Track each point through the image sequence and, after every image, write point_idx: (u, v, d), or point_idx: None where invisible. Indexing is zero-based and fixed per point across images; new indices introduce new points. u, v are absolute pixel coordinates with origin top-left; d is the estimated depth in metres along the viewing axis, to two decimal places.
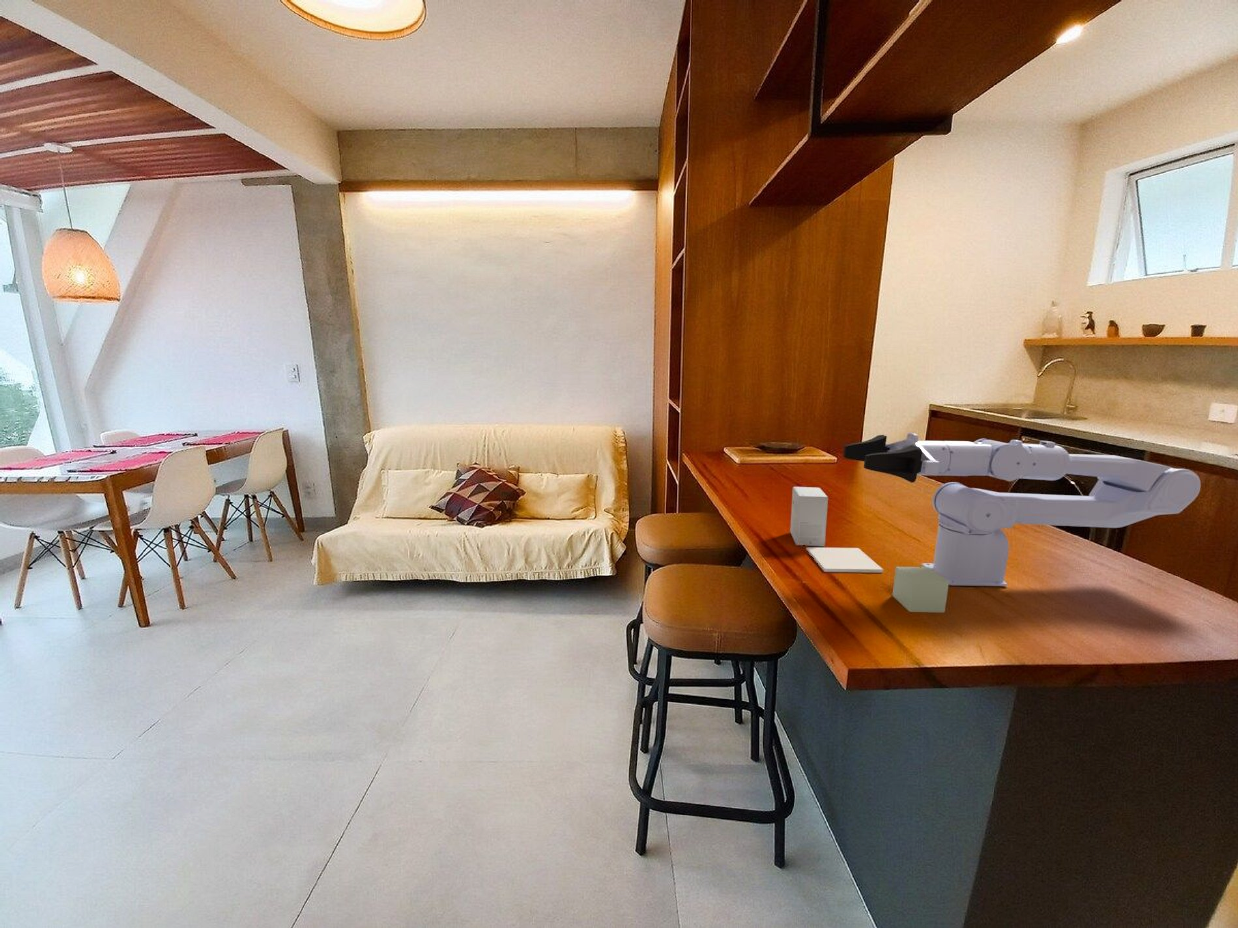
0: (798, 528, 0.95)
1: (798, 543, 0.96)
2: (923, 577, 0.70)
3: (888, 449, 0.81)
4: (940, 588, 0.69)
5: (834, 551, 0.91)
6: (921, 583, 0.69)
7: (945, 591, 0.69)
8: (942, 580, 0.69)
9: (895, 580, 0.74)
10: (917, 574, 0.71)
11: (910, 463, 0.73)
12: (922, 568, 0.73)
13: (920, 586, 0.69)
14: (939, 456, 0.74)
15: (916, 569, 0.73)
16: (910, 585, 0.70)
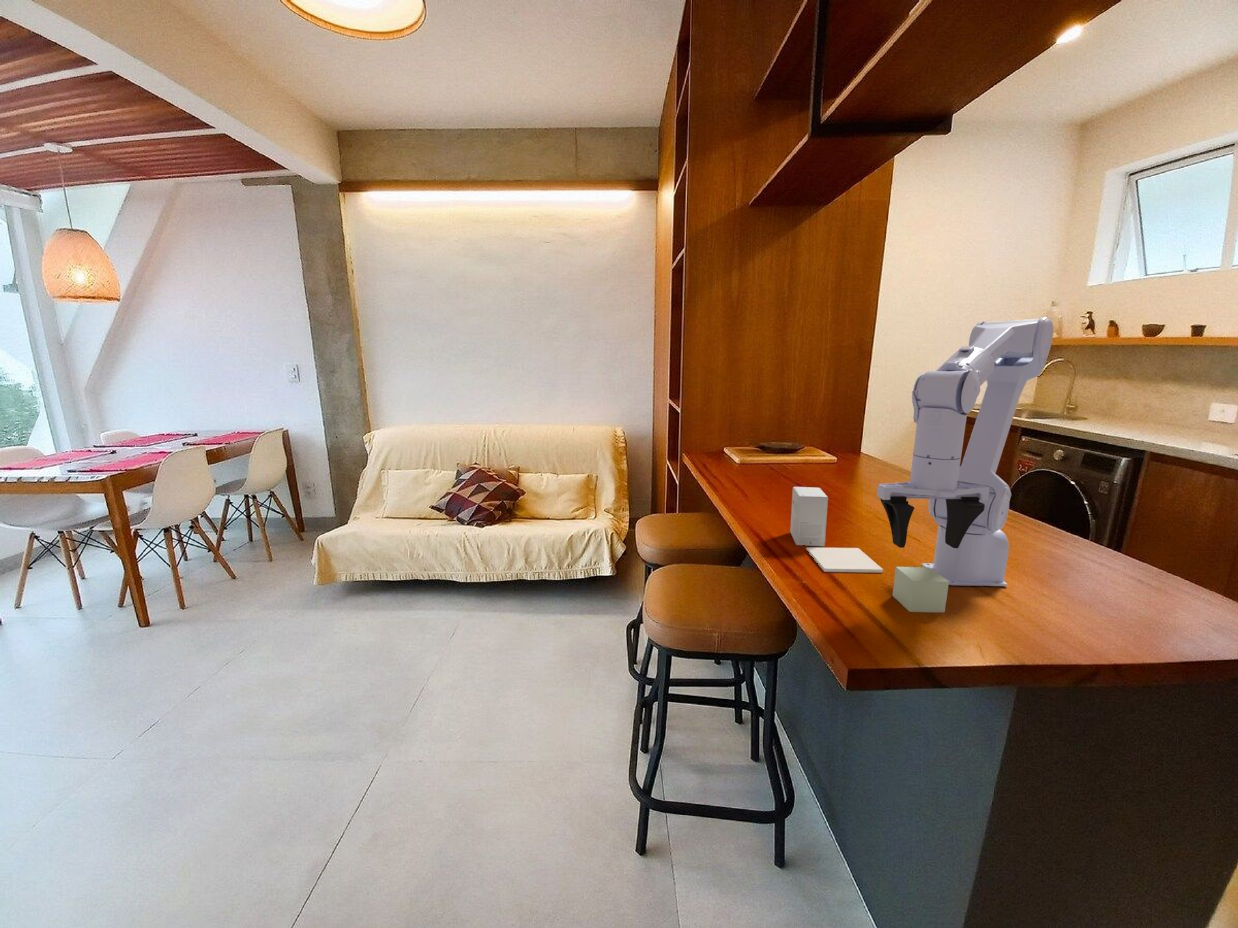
0: (798, 528, 0.95)
1: (798, 543, 0.96)
2: (923, 577, 0.70)
3: (905, 498, 0.68)
4: (940, 589, 0.69)
5: (834, 551, 0.91)
6: (921, 583, 0.69)
7: (945, 591, 0.69)
8: (942, 580, 0.69)
9: (895, 580, 0.74)
10: (917, 574, 0.71)
11: None
12: (922, 568, 0.73)
13: (920, 586, 0.69)
14: None
15: (916, 569, 0.73)
16: (910, 585, 0.70)
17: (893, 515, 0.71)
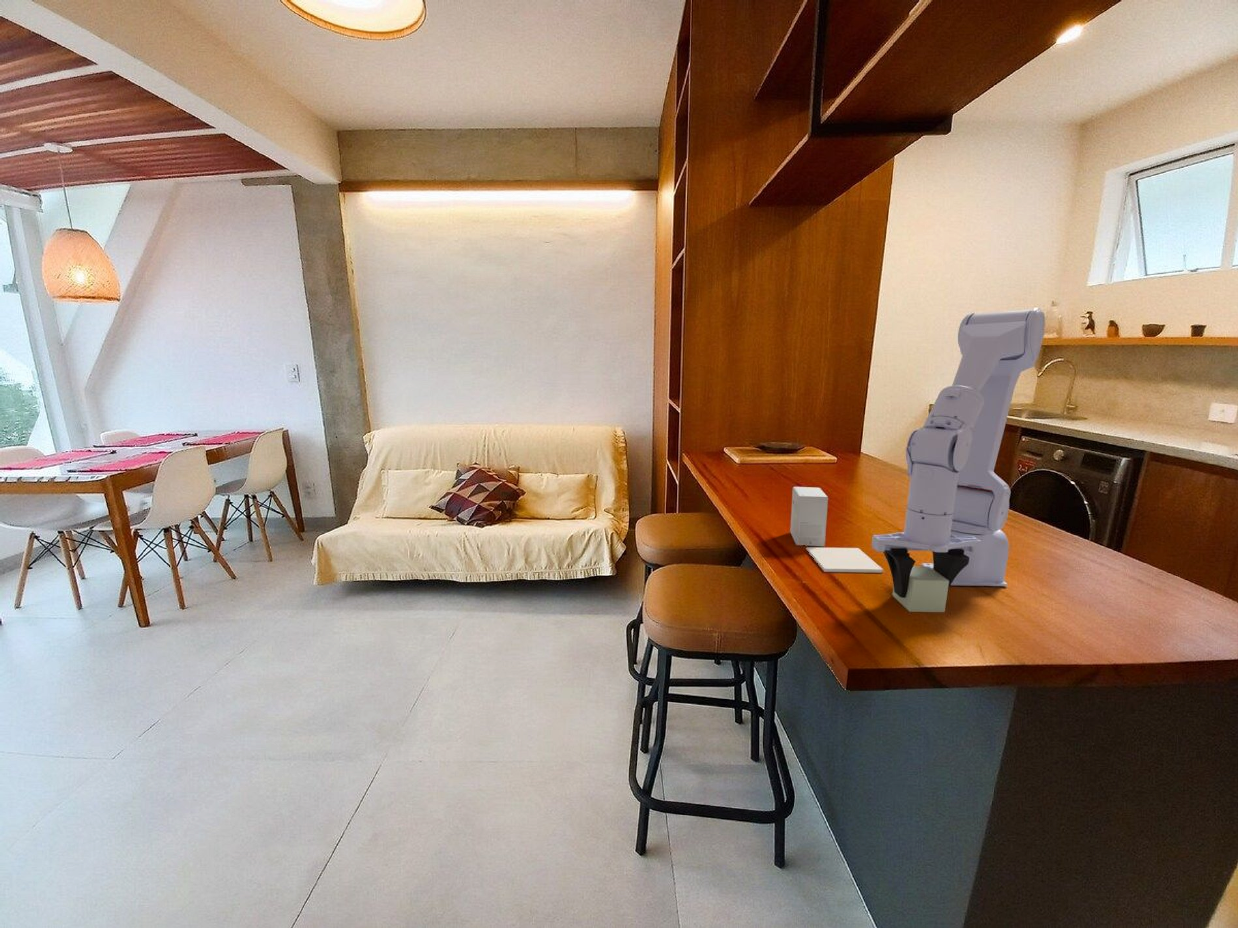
0: (798, 528, 0.95)
1: (798, 543, 0.96)
2: (923, 576, 0.70)
3: (906, 550, 0.70)
4: (941, 588, 0.69)
5: (834, 551, 0.91)
6: (922, 582, 0.69)
7: (945, 590, 0.69)
8: (942, 579, 0.69)
9: None
10: (917, 573, 0.71)
11: None
12: (922, 568, 0.73)
13: (920, 585, 0.69)
14: None
15: (916, 569, 0.73)
16: (910, 584, 0.69)
17: (894, 565, 0.72)
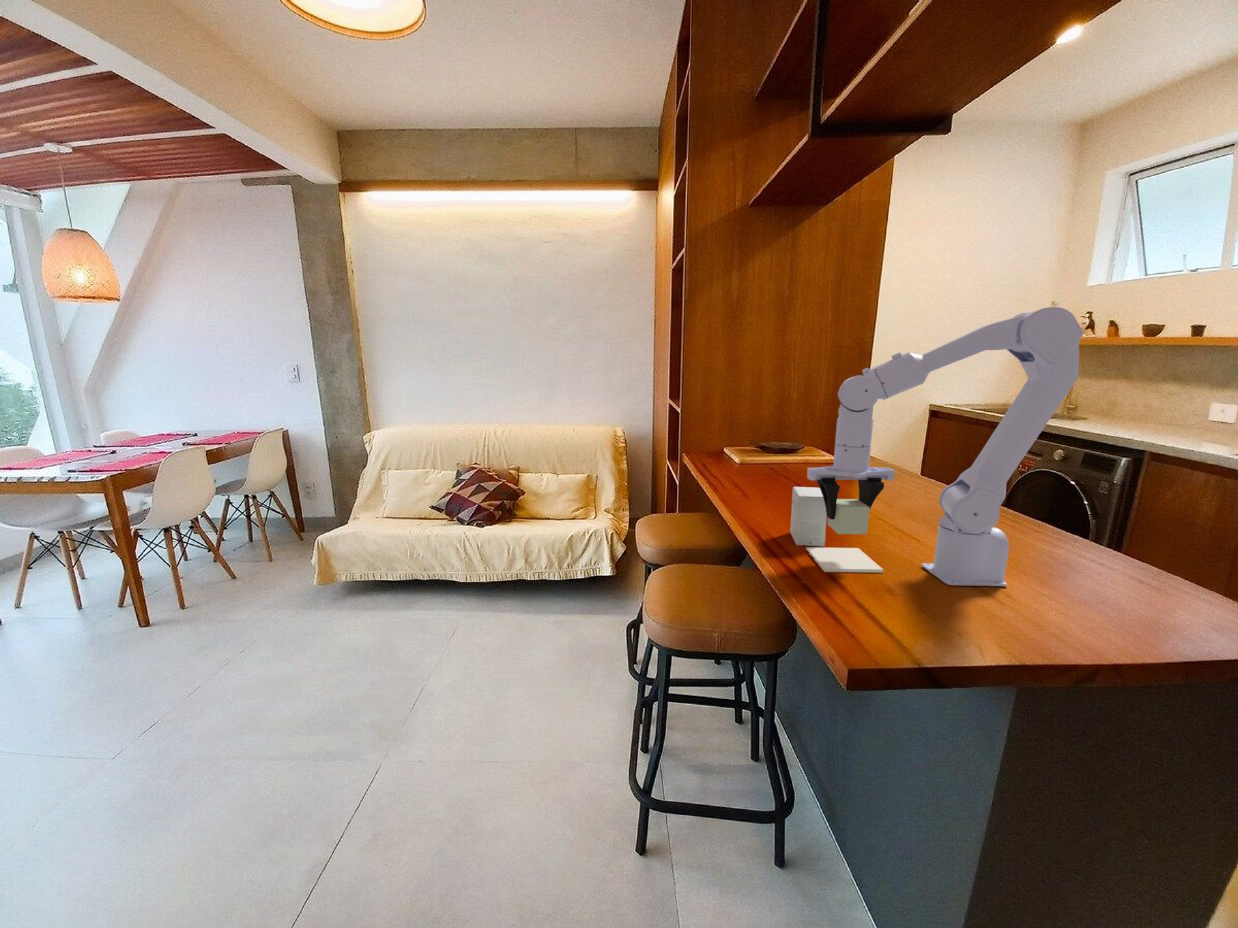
0: (798, 528, 0.95)
1: (798, 543, 0.96)
2: (850, 504, 0.84)
3: (834, 479, 0.85)
4: (863, 513, 0.83)
5: (834, 551, 0.91)
6: (847, 509, 0.83)
7: (867, 515, 0.83)
8: (864, 506, 0.83)
9: None
10: (846, 503, 0.85)
11: None
12: (851, 500, 0.87)
13: (846, 511, 0.83)
14: None
15: (845, 500, 0.86)
16: (838, 511, 0.83)
17: (826, 493, 0.87)
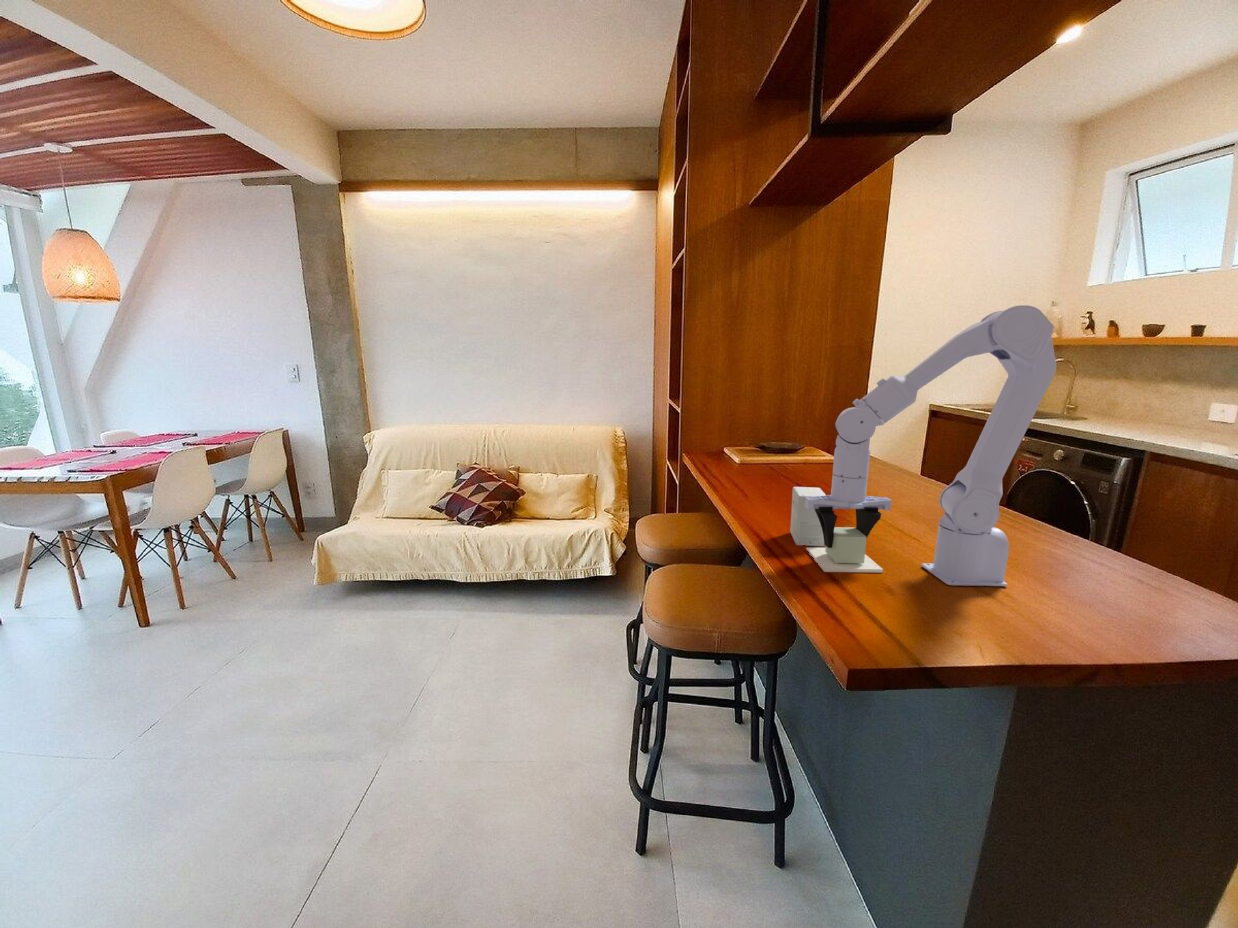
0: (798, 528, 0.95)
1: (798, 543, 0.96)
2: (847, 534, 0.85)
3: (831, 508, 0.86)
4: (860, 543, 0.84)
5: None
6: (844, 538, 0.84)
7: (864, 545, 0.84)
8: (861, 536, 0.84)
9: None
10: (843, 532, 0.86)
11: None
12: (848, 528, 0.88)
13: (843, 541, 0.84)
14: None
15: (843, 529, 0.88)
16: (836, 540, 0.85)
17: (824, 522, 0.88)
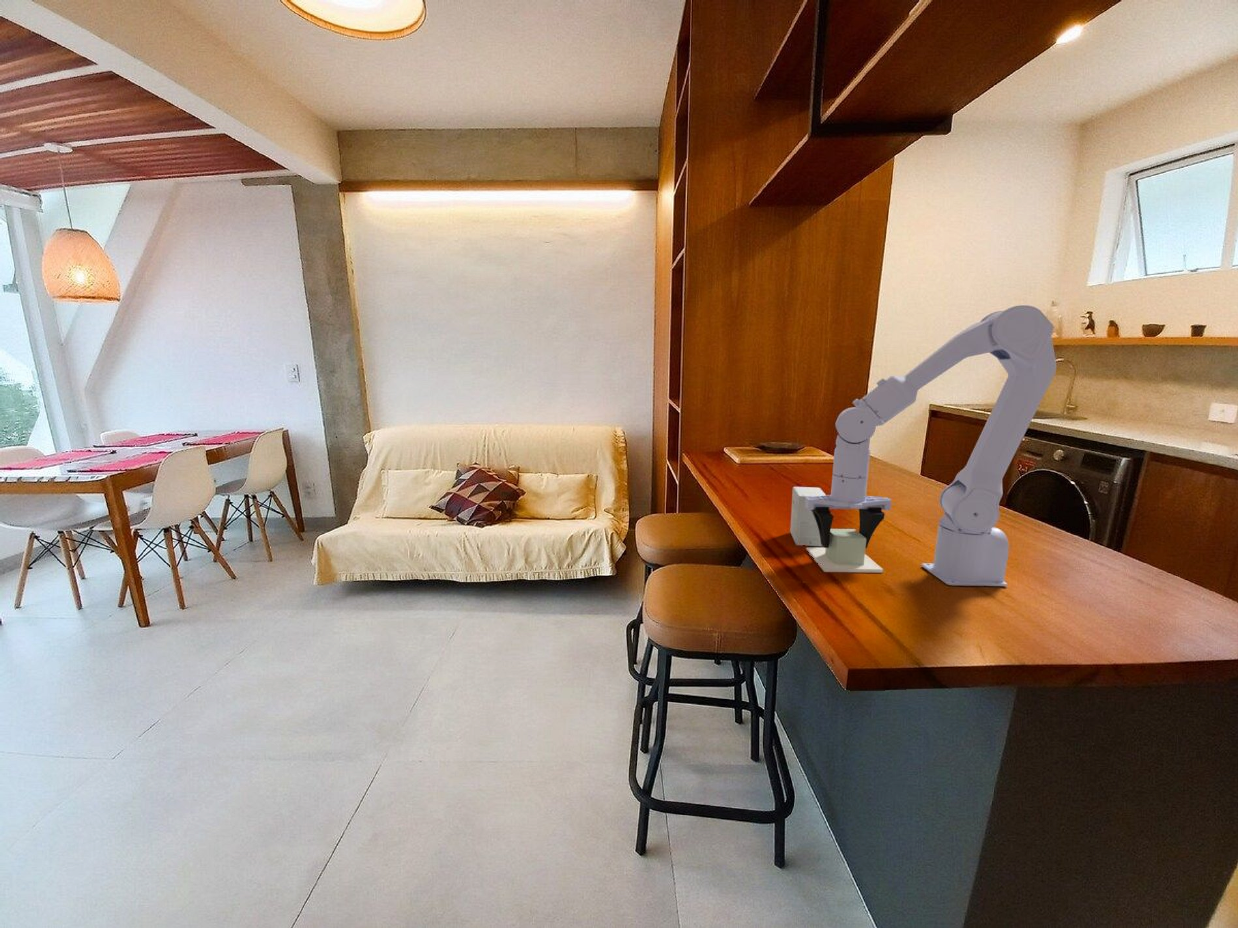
0: (798, 528, 0.95)
1: (798, 543, 0.96)
2: (847, 535, 0.85)
3: (828, 508, 0.86)
4: (860, 544, 0.84)
5: None
6: (844, 540, 0.84)
7: (864, 546, 0.84)
8: (861, 537, 0.84)
9: None
10: (843, 533, 0.86)
11: None
12: (848, 530, 0.88)
13: (843, 542, 0.84)
14: None
15: (842, 530, 0.88)
16: (836, 542, 0.85)
17: (820, 522, 0.88)
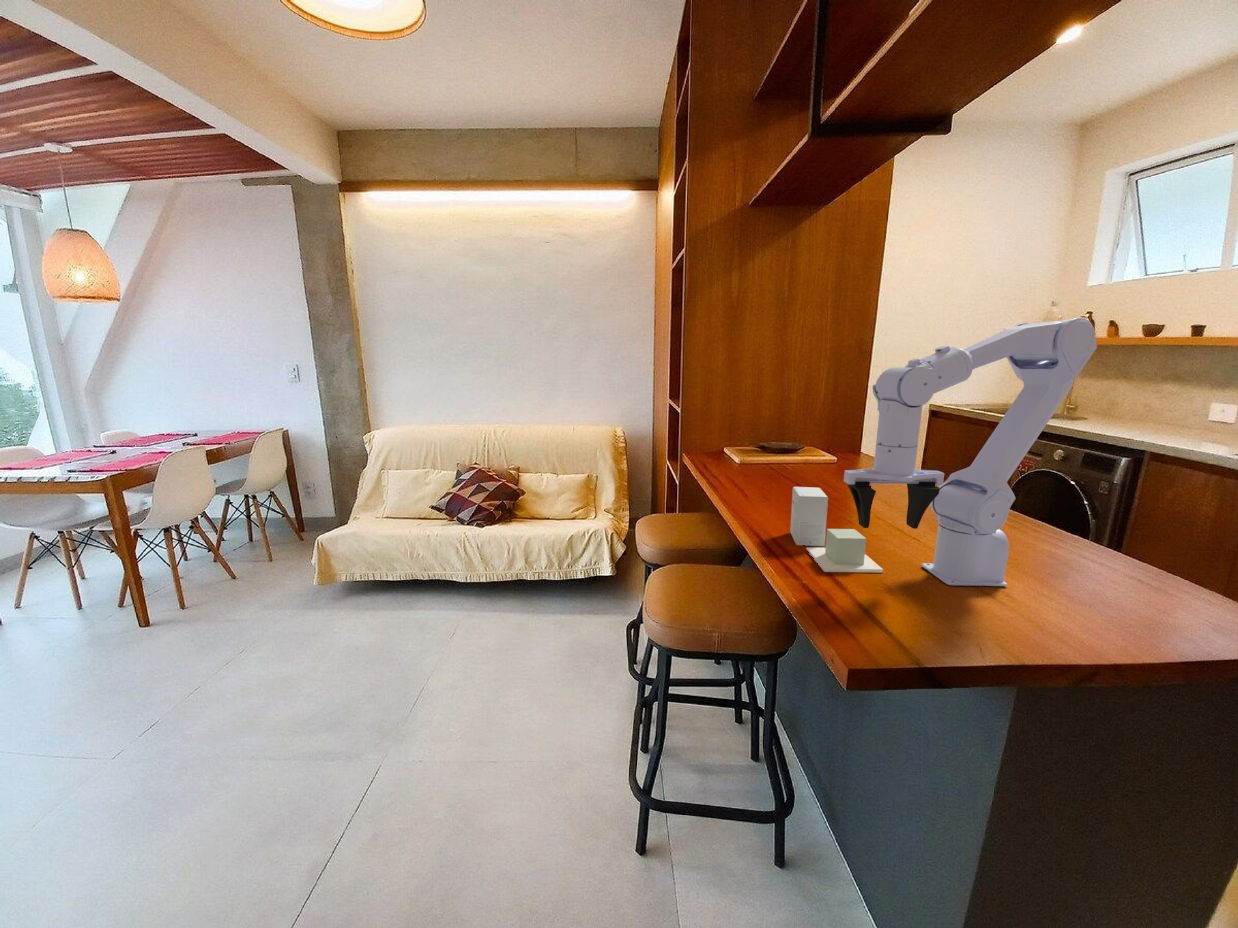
0: (798, 528, 0.95)
1: (798, 544, 0.96)
2: (847, 535, 0.85)
3: (868, 483, 0.76)
4: (860, 544, 0.84)
5: None
6: (844, 540, 0.84)
7: (864, 546, 0.84)
8: (861, 537, 0.84)
9: (826, 540, 0.89)
10: (843, 533, 0.86)
11: None
12: (848, 530, 0.88)
13: (843, 542, 0.84)
14: None
15: (842, 530, 0.88)
16: (836, 542, 0.85)
17: (859, 499, 0.78)
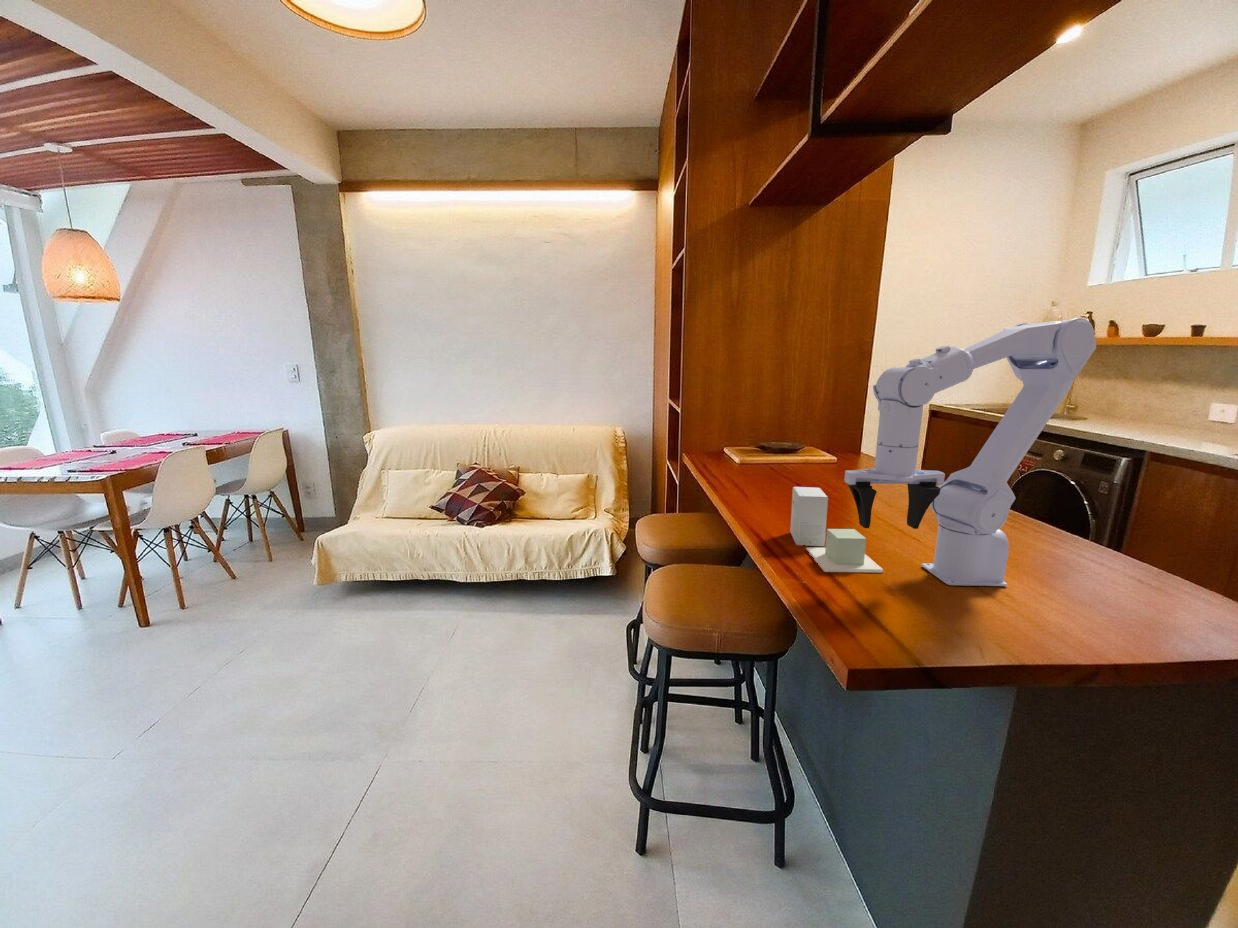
0: (798, 528, 0.95)
1: (798, 544, 0.96)
2: (847, 535, 0.85)
3: (869, 483, 0.75)
4: (860, 544, 0.84)
5: None
6: (844, 540, 0.84)
7: (864, 546, 0.84)
8: (861, 537, 0.84)
9: (826, 540, 0.89)
10: (843, 533, 0.86)
11: None
12: (848, 530, 0.88)
13: (843, 542, 0.84)
14: None
15: (842, 530, 0.88)
16: (836, 542, 0.85)
17: (859, 499, 0.78)
